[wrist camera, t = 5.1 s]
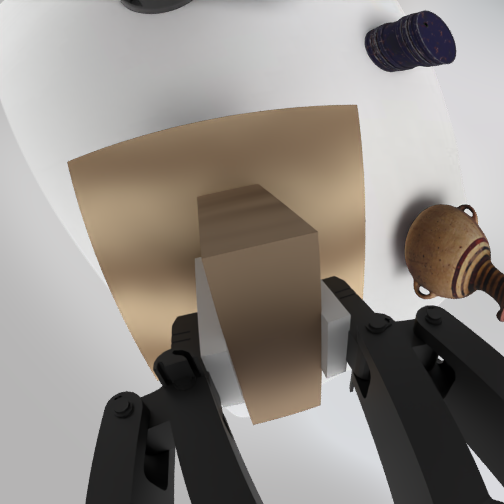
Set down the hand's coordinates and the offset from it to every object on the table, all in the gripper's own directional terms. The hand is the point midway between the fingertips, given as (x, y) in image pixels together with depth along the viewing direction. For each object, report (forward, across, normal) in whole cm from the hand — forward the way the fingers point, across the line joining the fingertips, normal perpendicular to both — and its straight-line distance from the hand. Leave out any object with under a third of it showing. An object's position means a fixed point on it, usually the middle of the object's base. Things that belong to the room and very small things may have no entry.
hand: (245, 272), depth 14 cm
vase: (+32, +43, -20) cm, 57 cm away
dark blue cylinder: (+32, +37, +21) cm, 53 cm away
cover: (+16, 0, 0) cm, 16 cm away
